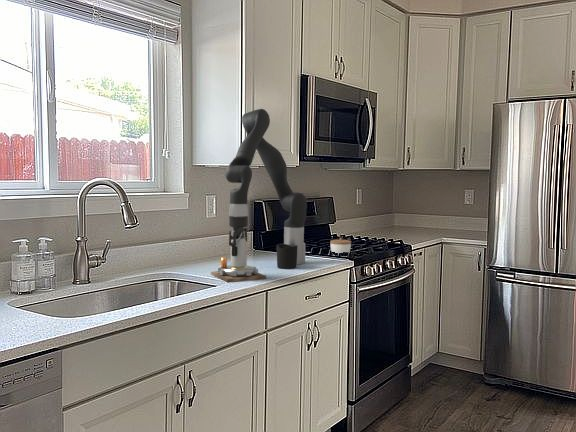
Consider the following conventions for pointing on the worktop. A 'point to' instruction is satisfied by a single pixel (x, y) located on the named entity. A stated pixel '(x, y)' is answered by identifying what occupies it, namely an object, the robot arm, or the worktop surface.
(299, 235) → the robot arm
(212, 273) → the board
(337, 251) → the lidded jar
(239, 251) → the beverage can
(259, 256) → the worktop surface
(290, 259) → the pen holder
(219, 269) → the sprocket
